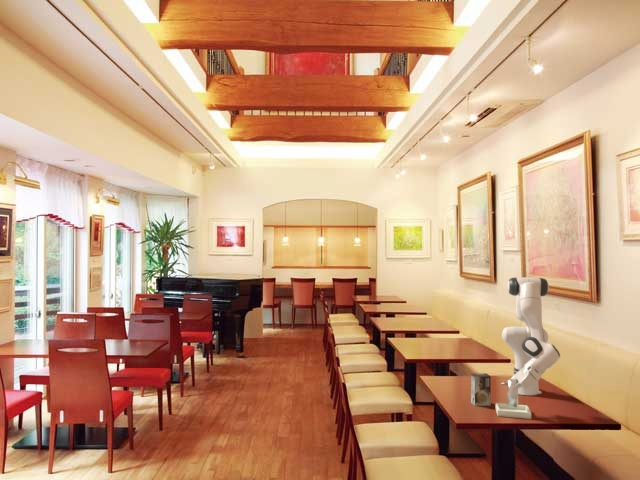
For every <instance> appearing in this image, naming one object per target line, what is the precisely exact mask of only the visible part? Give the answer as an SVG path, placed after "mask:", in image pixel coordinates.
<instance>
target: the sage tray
mask: <svg viewBox="0 0 640 480" xmlns="http://www.w3.org/2000/svg"><path fill="white" fill-rule="evenodd" d="M494 409H495V411H496V412H495V413H496V415H497V417H501V418H502V417H505V418H514V419H515V418H516V419H524V420H525V419H526V420H532V412H531V410H530V408H529V406H528V405H527V404H525V405H524V404H518V407H509V406H508V405H507V403H504V402H495V403H494Z"/></svg>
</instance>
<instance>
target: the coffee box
mask: <svg viewBox="0 0 640 480" xmlns="http://www.w3.org/2000/svg"><path fill="white" fill-rule="evenodd" d="M491 380H492V379H491V375H489V373H485V372H483V373H479V372H478V373H471V374H470V402H471V404H472V405H473V406H474V407H475V406H477V407H478V406H480V407H481V406H485V407H486V406H492V405H491V404H492V403H491V402H492V397H491V396H492V393H491V392H492V390H491V389H492V388H491V386H492V385H491V383H492V382H491Z"/></svg>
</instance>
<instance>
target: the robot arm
mask: <svg viewBox="0 0 640 480" xmlns="http://www.w3.org/2000/svg"><path fill="white" fill-rule="evenodd" d="M506 288H507V291H508V293H509V295H511V296H515V317H516V319H517V320H519V321H520V322H523V323H524V324H526V325H525V326H518V325H517V326H516V325H515V326H514V325H513V326H506V327H504V328H503V329H502V332H501V339H502V340H503V342H504V343H505V344H507V345H508V346H509V347H510V349H511V350H512V352H513V356H514V367H513V375H512V377H511V378H510V377H509V379H513V380H518V383H517V384H516V385H514V386H513V387H512V388H513V389H514V390H517V389H518V395H521V396H537V395H541V394H543V393H542V391H541V390H539V380H540V379H541V378H542V376H543V374H545V372H546V371H547V370H548V369H551V368H552V367H553V366H554V365H555V364H556V363H557V362H558V361H559V360H560V358H561V354H560V351H559V349H557V348H556V346H555V345H554V344H552V343H548V341H549V334H548V332H547V330H546V329H545V328H544V327H543V316H542V312H543V311H542V310H543V308H542V297H545V296H547V294H548V292H549V290H550V285H549V283H548V280H547V279H546V278H542V277H539V278H538V277H532V276H527V277H526V276H525V277H511V278H509V279H508V282H507V285H506Z"/></svg>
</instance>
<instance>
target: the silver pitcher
mask: <svg viewBox="0 0 640 480" xmlns="http://www.w3.org/2000/svg"><path fill="white" fill-rule="evenodd" d="M517 383H518V380H513V379H510V378H509V379H507V382H501V383H500V384H501V386H507V398H506V400H507V401H506V402H507V403H506V404H507V405H508V406H509V407H518V405H519V394H518V389H517V390H514V389H513V388H512V387H513V386H514V385H516V384H517Z"/></svg>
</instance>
